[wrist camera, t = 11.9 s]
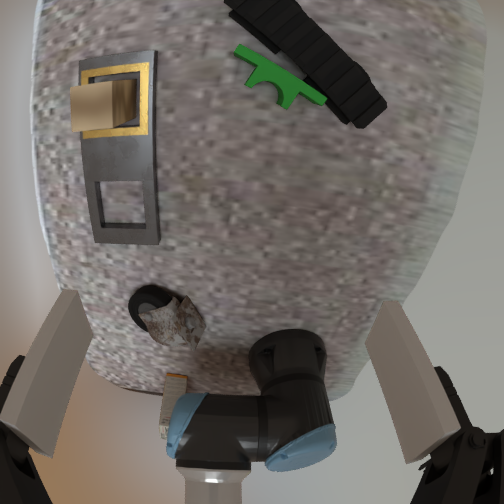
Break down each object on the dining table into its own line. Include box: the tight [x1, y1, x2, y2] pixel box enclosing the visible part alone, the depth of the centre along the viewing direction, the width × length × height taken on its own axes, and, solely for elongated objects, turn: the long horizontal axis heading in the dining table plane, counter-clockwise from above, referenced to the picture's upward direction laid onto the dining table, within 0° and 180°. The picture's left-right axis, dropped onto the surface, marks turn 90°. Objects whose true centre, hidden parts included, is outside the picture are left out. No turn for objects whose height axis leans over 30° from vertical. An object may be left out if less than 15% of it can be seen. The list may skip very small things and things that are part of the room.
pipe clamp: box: [234, 44, 327, 110], centre depth 30 cm, size 11×4×5 cm, turn 58°
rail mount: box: [224, 0, 387, 129], centre depth 28 cm, size 21×6×5 cm, turn 46°
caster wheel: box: [128, 286, 206, 351], centre depth 47 cm, size 7×11×10 cm
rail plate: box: [79, 50, 161, 245], centre depth 35 cm, size 26×10×2 cm, turn 176°
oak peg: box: [70, 79, 137, 132], centre depth 28 cm, size 5×5×8 cm
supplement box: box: [159, 373, 187, 440], centre depth 57 cm, size 8×5×13 cm, turn 167°
